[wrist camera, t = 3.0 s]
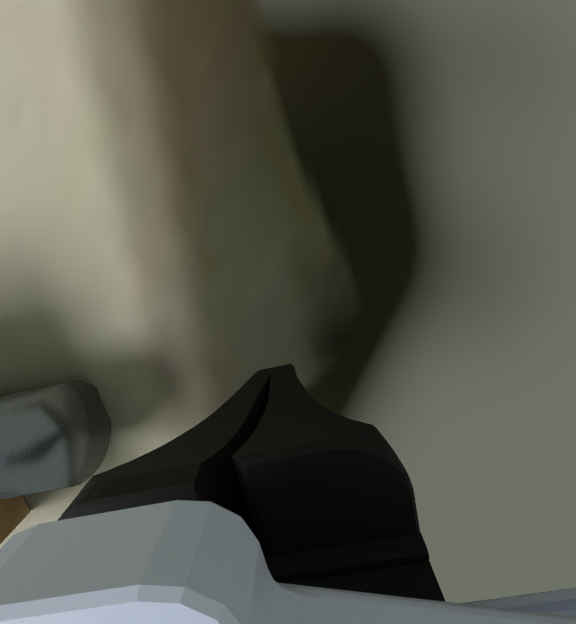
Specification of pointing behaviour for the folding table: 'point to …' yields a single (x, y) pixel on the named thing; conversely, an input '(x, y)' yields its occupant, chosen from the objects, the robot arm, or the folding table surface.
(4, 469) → the axle
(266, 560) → the robot arm
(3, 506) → the beam
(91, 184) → the folding table surface
